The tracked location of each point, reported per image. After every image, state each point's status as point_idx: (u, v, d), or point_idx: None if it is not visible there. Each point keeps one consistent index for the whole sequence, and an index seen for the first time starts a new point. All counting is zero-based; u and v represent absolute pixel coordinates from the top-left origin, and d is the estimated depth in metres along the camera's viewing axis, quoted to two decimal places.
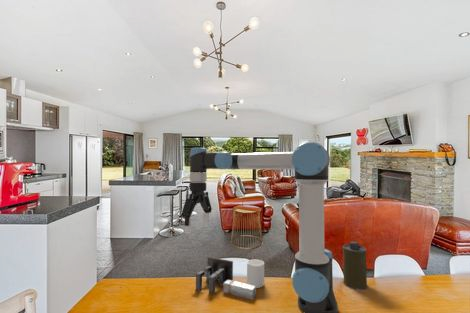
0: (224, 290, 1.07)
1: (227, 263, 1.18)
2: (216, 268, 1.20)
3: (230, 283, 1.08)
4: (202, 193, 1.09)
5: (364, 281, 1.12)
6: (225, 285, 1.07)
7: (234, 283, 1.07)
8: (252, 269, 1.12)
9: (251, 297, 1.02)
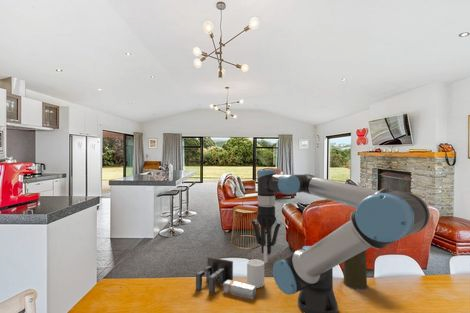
0: (224, 290, 1.07)
1: (227, 263, 1.18)
2: (216, 268, 1.20)
3: (230, 283, 1.08)
4: (271, 217, 1.01)
5: (364, 281, 1.12)
6: (225, 285, 1.07)
7: (234, 283, 1.07)
8: (252, 269, 1.12)
9: (251, 297, 1.02)
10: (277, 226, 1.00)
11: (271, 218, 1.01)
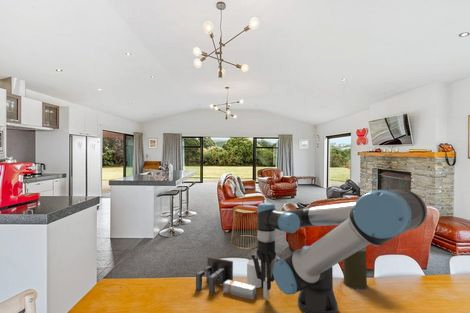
0: (224, 290, 1.07)
1: (227, 263, 1.18)
2: (216, 268, 1.20)
3: (230, 283, 1.08)
4: (271, 252, 1.00)
5: (364, 281, 1.12)
6: (225, 285, 1.07)
7: (234, 283, 1.07)
8: (252, 269, 1.12)
9: (251, 297, 1.02)
10: None
11: (271, 253, 1.00)
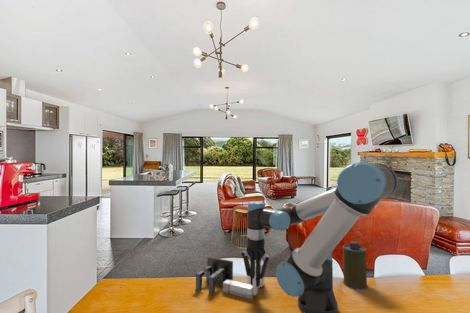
0: (223, 290, 1.08)
1: (227, 263, 1.18)
2: (216, 268, 1.20)
3: (229, 283, 1.08)
4: (260, 250, 1.02)
5: (364, 281, 1.12)
6: (224, 285, 1.08)
7: (233, 283, 1.07)
8: None
9: (250, 297, 1.02)
10: (266, 259, 1.01)
11: (260, 251, 1.02)
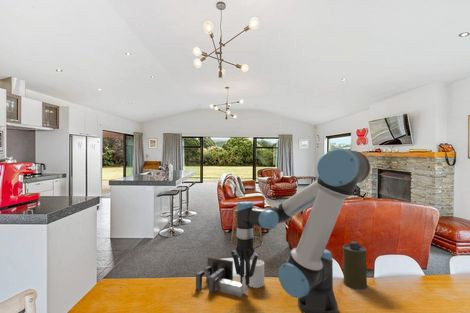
0: None
1: (227, 263, 1.18)
2: (216, 268, 1.20)
3: (220, 281, 1.10)
4: (249, 249, 1.04)
5: (364, 281, 1.12)
6: (215, 283, 1.09)
7: (223, 281, 1.09)
8: None
9: (240, 294, 1.04)
10: (255, 258, 1.03)
11: (249, 250, 1.04)
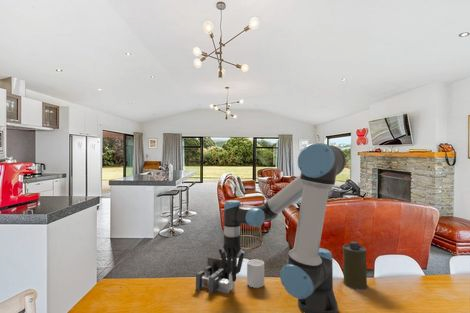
0: (202, 284, 1.12)
1: None
2: (216, 268, 1.20)
3: (208, 278, 1.12)
4: (236, 246, 1.07)
5: (364, 281, 1.12)
6: (203, 280, 1.12)
7: None
8: (252, 269, 1.12)
9: (227, 291, 1.07)
10: (241, 255, 1.06)
11: (236, 247, 1.07)
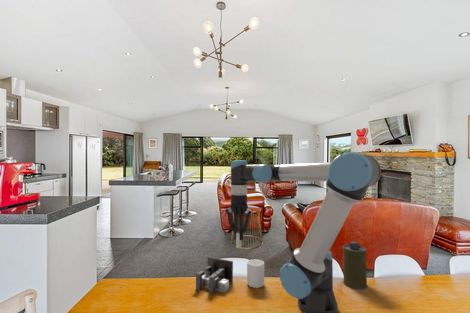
0: None
1: (227, 263, 1.18)
2: (216, 268, 1.20)
3: (205, 277, 1.13)
4: (243, 205, 1.07)
5: (364, 281, 1.12)
6: None
7: (208, 278, 1.13)
8: (252, 269, 1.12)
9: (223, 290, 1.07)
10: (248, 213, 1.05)
11: (243, 206, 1.07)
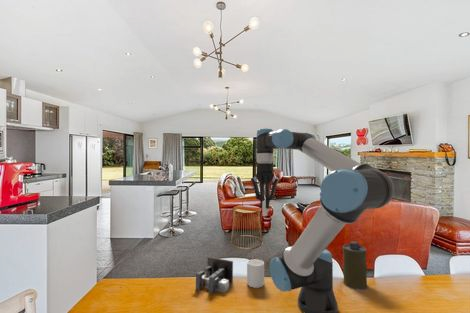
0: None
1: (227, 263, 1.18)
2: (216, 268, 1.20)
3: (205, 277, 1.13)
4: (269, 173, 1.06)
5: (364, 281, 1.12)
6: None
7: (208, 278, 1.13)
8: (252, 269, 1.12)
9: (223, 290, 1.07)
10: (275, 181, 1.05)
11: (269, 174, 1.06)
